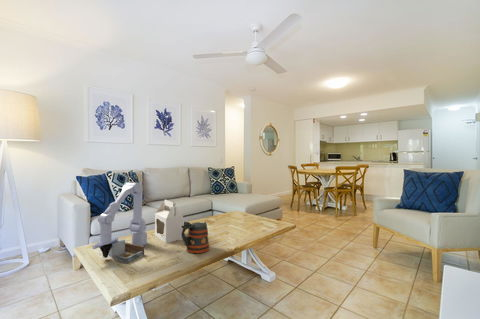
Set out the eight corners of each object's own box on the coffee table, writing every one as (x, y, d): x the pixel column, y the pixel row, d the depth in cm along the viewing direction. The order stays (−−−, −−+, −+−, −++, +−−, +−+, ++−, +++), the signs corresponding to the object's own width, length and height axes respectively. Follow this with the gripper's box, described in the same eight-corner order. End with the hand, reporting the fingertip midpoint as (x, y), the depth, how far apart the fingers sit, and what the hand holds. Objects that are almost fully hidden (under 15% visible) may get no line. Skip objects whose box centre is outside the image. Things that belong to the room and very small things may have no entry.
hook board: (120, 249, 147) (120, 241, 147) (144, 255, 139) (144, 246, 139) (101, 257, 136) (101, 248, 136) (126, 263, 127) (126, 254, 127)
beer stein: (189, 258, 135) (190, 224, 135) (176, 251, 145) (176, 220, 145) (213, 249, 149) (213, 219, 149) (199, 243, 159) (199, 215, 159)
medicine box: (122, 251, 144) (122, 238, 144) (125, 253, 141) (125, 239, 141) (108, 255, 138) (108, 241, 138) (111, 257, 135) (111, 243, 135)
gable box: (183, 239, 168) (183, 201, 168) (165, 243, 159) (166, 203, 159) (170, 232, 185) (171, 198, 185) (154, 235, 176) (155, 199, 176)
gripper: (112, 229, 141) (112, 251, 141) (89, 236, 127) (88, 260, 127) (120, 231, 138) (120, 253, 138) (97, 238, 125) (97, 263, 124)
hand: (105, 257), depth 132 cm, fingers closed
